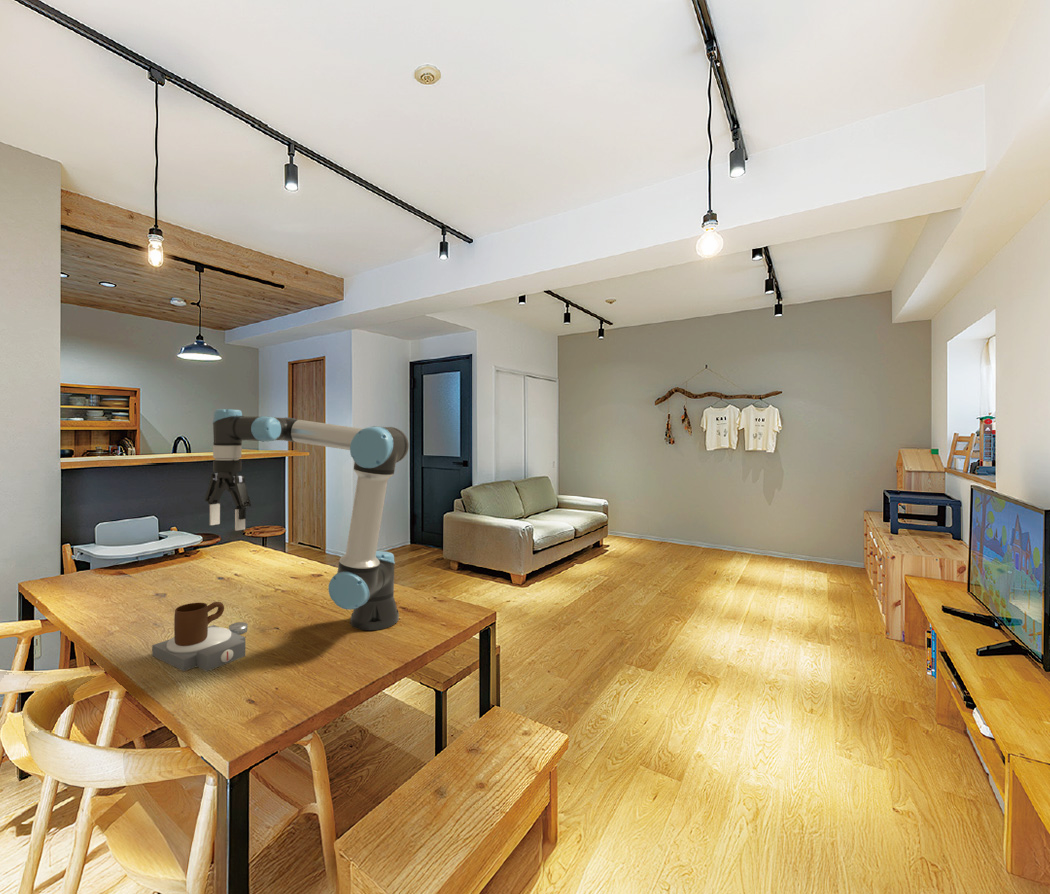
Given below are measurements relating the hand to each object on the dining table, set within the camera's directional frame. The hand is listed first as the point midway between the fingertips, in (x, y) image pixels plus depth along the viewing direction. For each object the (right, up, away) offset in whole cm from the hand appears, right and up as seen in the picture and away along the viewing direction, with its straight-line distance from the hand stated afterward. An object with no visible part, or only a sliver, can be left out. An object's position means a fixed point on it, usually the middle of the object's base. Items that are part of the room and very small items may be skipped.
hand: (227, 527), depth 150 cm
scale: (+4, -32, -16) cm, 37 cm away
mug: (+2, -29, -15) cm, 32 cm away
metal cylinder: (+4, -32, -2) cm, 32 cm away
